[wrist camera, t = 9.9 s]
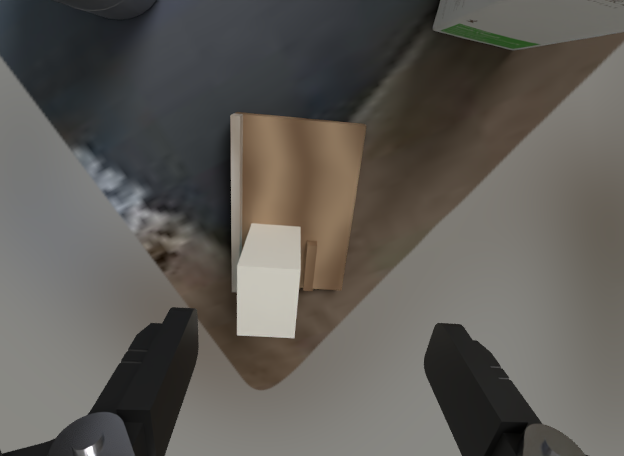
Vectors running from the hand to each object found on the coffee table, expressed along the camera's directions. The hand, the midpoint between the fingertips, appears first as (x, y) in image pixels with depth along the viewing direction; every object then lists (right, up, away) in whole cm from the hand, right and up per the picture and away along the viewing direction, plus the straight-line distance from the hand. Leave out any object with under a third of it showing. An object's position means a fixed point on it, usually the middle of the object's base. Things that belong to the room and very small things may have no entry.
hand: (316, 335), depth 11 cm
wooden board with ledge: (-2, +6, +24) cm, 24 cm away
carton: (-4, +1, +24) cm, 25 cm away
